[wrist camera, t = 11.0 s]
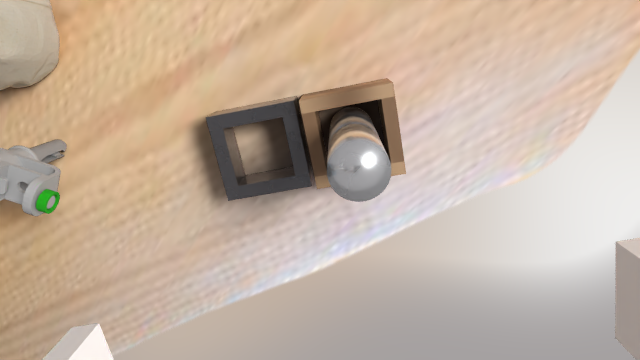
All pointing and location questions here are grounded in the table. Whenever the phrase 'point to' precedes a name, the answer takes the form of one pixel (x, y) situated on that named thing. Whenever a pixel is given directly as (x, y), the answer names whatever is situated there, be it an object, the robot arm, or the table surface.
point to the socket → (230, 156)
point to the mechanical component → (31, 176)
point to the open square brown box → (344, 97)
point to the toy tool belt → (27, 42)
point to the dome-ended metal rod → (356, 156)
